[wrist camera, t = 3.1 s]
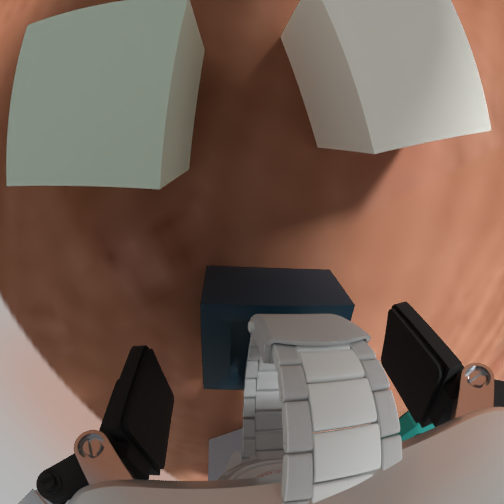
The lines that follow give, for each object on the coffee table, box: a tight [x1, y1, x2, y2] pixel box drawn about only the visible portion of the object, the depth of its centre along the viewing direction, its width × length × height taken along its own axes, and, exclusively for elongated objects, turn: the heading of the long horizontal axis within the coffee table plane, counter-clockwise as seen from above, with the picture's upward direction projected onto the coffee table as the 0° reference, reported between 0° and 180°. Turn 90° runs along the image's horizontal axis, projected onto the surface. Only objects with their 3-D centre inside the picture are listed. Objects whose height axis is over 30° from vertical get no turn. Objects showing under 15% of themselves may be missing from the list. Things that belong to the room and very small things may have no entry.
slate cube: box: [208, 428, 283, 481], centre depth 16 cm, size 5×5×5 cm
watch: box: [200, 266, 402, 504], centre depth 8 cm, size 6×8×11 cm
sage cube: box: [6, 0, 205, 189], centre depth 8 cm, size 5×5×5 cm
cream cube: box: [280, 0, 491, 154], centre depth 8 cm, size 5×5×5 cm
